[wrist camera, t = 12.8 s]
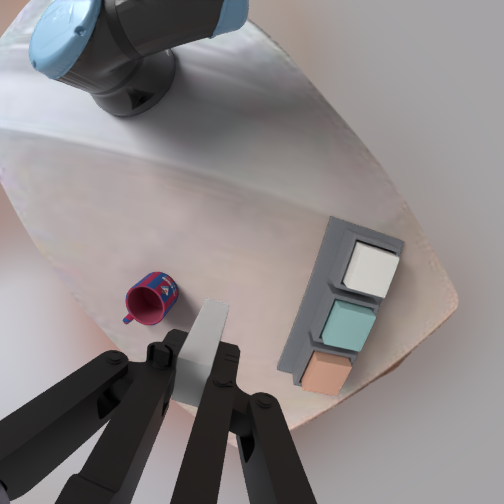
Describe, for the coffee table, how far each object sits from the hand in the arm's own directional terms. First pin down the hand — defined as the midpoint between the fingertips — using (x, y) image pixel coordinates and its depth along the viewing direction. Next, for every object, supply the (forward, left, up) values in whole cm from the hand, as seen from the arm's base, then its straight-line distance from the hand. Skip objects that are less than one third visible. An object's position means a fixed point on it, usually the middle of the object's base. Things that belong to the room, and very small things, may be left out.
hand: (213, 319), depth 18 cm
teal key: (+7, +18, -25) cm, 32 cm away
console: (+7, +18, -28) cm, 34 cm away
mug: (+14, -13, -29) cm, 34 cm away
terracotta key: (+16, +18, -25) cm, 35 cm away
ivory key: (-2, +18, -25) cm, 31 cm away
